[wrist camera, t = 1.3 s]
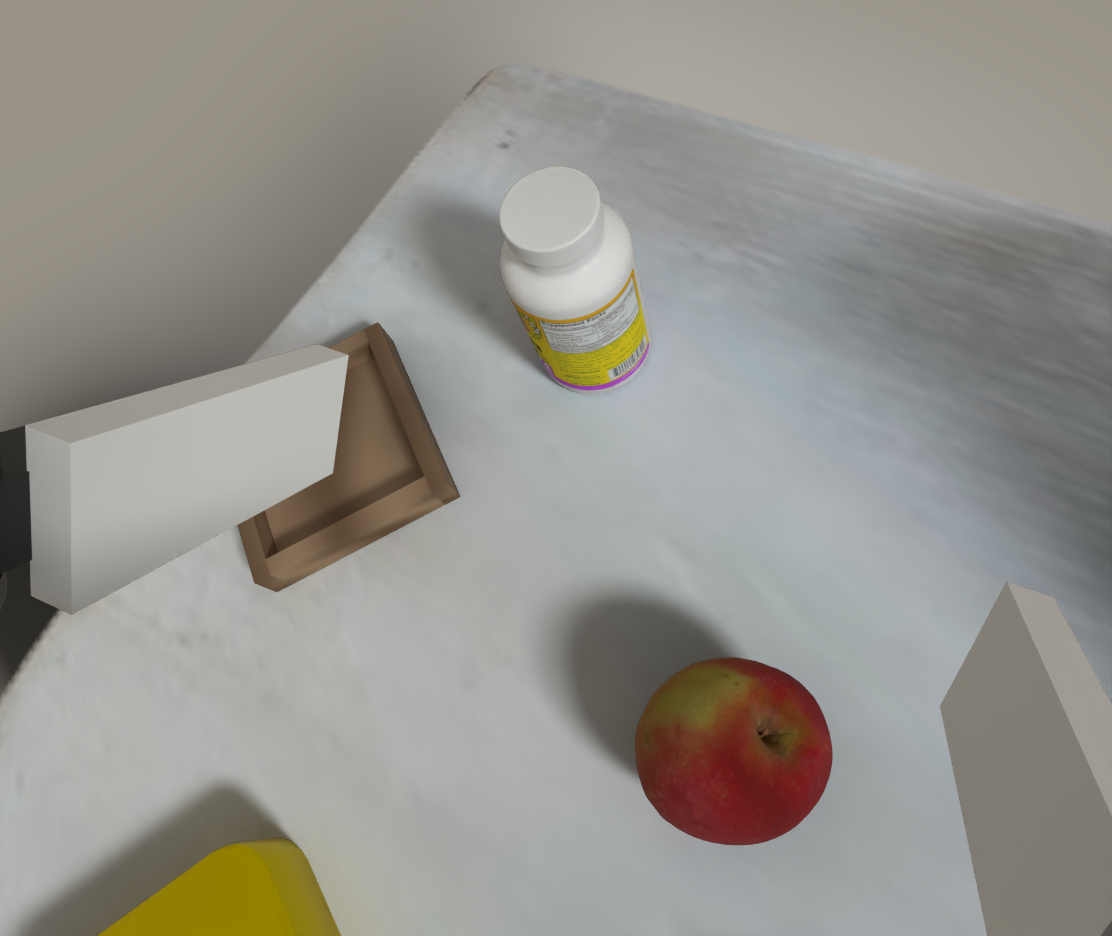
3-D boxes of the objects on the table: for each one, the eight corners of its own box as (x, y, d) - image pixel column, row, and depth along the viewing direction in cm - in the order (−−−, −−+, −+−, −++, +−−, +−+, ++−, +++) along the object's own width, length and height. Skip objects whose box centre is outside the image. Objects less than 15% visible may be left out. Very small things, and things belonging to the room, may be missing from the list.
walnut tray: (393, 341, 50) (377, 322, 48) (460, 496, 45) (446, 482, 43) (228, 428, 50) (206, 413, 48) (276, 592, 45) (254, 583, 43)
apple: (803, 866, 35) (820, 889, 28) (628, 807, 37) (600, 814, 30) (834, 695, 37) (856, 674, 30) (667, 650, 40) (650, 621, 32)
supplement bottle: (546, 304, 49) (484, 154, 37) (653, 297, 47) (624, 137, 36) (539, 402, 46) (470, 274, 35) (652, 397, 45) (620, 262, 33)
